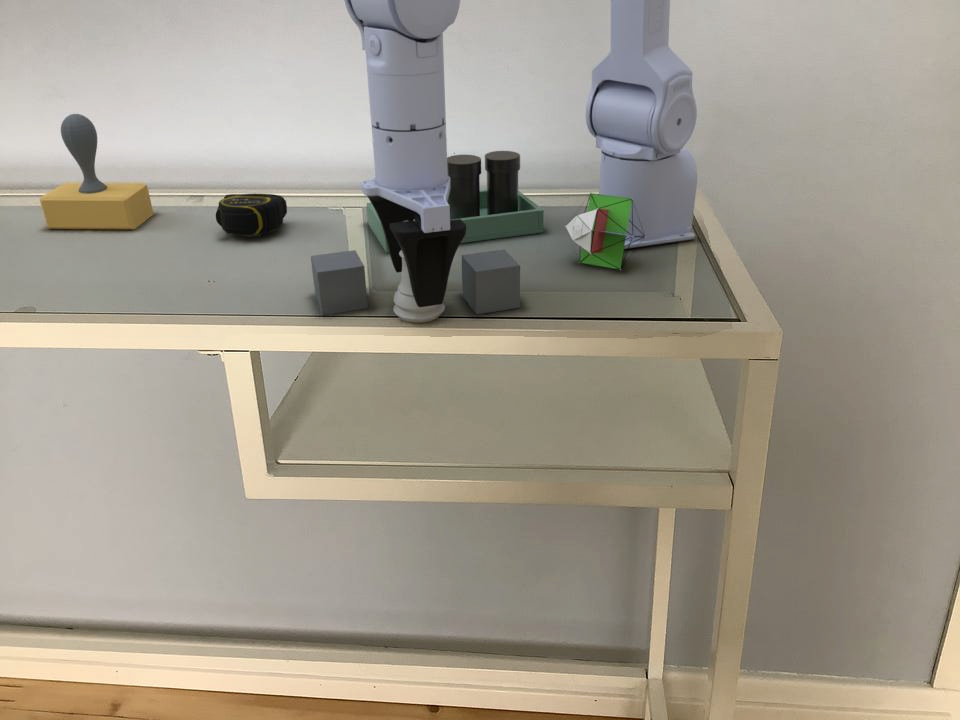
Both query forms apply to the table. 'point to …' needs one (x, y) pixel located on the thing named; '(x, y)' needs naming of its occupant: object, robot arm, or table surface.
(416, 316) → the rook chess piece
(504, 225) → the tray
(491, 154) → the black capped canister
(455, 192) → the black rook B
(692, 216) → the robot arm
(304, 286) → the table surface
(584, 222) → the geometric puzzle
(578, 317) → the table surface
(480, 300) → the grey cube
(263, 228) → the tape measure
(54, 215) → the rubber stamp
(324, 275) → the grey cube
